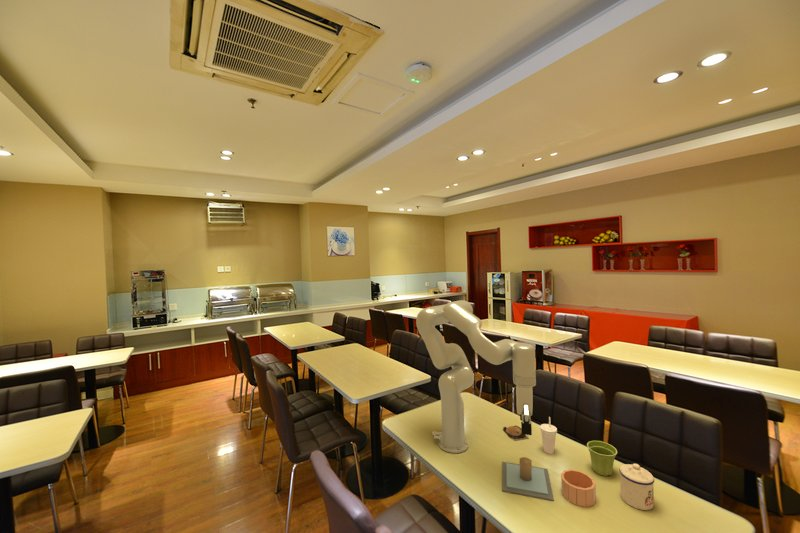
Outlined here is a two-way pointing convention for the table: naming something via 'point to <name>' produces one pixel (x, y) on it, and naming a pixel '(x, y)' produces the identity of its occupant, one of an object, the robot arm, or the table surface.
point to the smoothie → (548, 437)
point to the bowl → (578, 488)
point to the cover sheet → (525, 485)
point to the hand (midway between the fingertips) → (525, 427)
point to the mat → (524, 493)
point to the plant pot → (602, 457)
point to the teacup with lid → (637, 486)
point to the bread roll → (515, 433)
